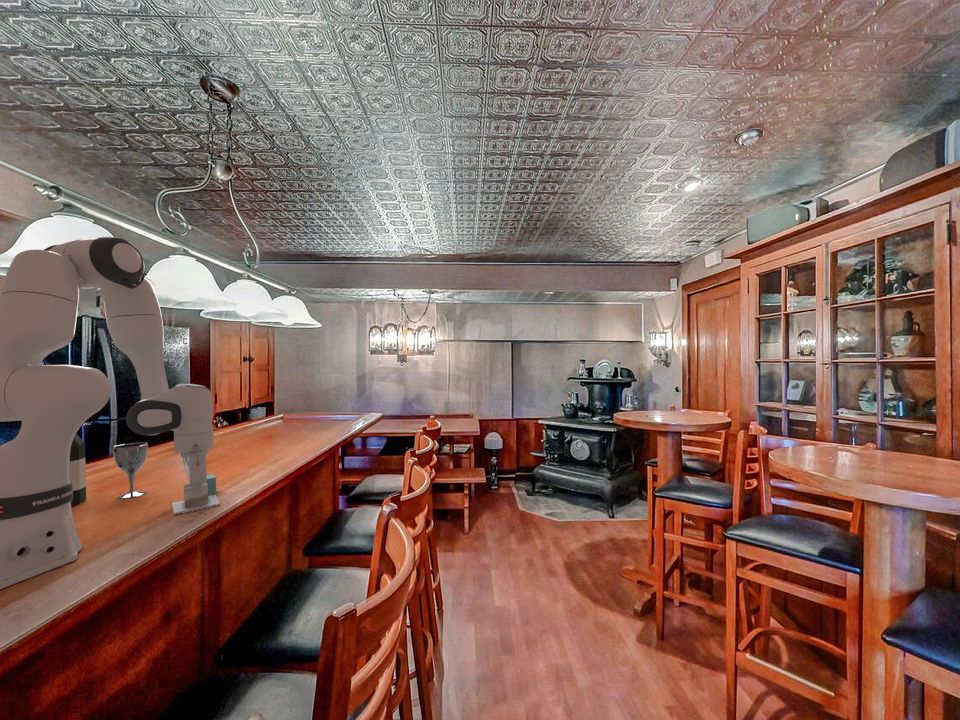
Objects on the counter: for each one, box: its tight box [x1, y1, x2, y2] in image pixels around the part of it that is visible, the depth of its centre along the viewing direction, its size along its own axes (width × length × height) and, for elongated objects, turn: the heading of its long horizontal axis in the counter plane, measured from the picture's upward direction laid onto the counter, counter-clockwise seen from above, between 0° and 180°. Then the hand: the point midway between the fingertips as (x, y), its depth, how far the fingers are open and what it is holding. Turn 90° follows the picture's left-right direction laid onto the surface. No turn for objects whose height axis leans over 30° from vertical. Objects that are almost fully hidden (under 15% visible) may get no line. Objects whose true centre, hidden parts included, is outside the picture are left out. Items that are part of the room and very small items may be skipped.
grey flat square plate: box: [171, 493, 221, 516], centre depth 109 cm, size 10×10×1 cm
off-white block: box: [183, 482, 208, 508], centre depth 109 cm, size 5×5×5 cm
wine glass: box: [112, 441, 149, 500], centre depth 119 cm, size 8×8×15 cm
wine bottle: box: [69, 433, 87, 507], centre depth 113 cm, size 8×8×30 cm
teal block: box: [206, 473, 217, 495], centre depth 119 cm, size 5×5×5 cm
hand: (195, 493), depth 109 cm, fingers open, 8 cm apart
